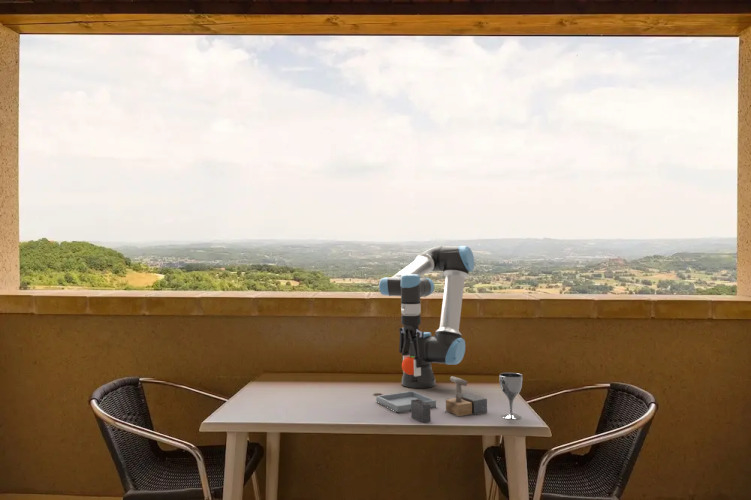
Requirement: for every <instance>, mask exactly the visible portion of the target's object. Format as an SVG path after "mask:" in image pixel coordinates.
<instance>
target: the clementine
mask: <svg viewBox="0 0 751 500" xmlns="http://www.w3.org/2000/svg"><path fill="white" fill-rule="evenodd" d="M413 358H415V357H413V356H410V357H407V358H405V359H404V360H403V359H402V362H401V369H402V372H403V371H404V372H405V373H406V374H408V375H413V374H414V359H413ZM404 372H403V373H404Z"/></svg>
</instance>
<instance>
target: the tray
mask: <svg viewBox="0 0 751 500" xmlns="http://www.w3.org/2000/svg"><path fill="white" fill-rule="evenodd" d="M375 397H376V399H375V402H376V401H377V402H379V403H381V404H382V405H381V404H380V405H381V406H383V405H384V406H386V407H388V408H390V409H392V410H394V411H396V412H402V413H406V412H405V411H408V412H411V400H416V399H419V400H421V401H424V402H426V403H428V404H430V409H432V408H436V407H437V400H436V399H434V398H431V397H429V396H427V395H424V394H421V393H419V392H417V391H414V390H411V391H402V392H395V393H389V394H382V395H376V396H375ZM377 402H376V403H377ZM379 403H378V404H379ZM384 406H383V407H384ZM386 407H385V408H386ZM388 408H387V409H388ZM390 409H389V410H390ZM392 410H391V411H392ZM394 411H393V412H394ZM396 412H395V413H396Z"/></svg>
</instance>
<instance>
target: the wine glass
mask: <svg viewBox="0 0 751 500" xmlns="http://www.w3.org/2000/svg"><path fill="white" fill-rule="evenodd" d="M498 377H499V386H500V389H501V392H502V393H503V394H504V395H505V396H506V397H507V399H508V401H509V413H504V414H501V415H500V417H501V418H502V419H504V420H510V421H518V420H520V419H522V416H521V415H519V414H517V413H513V404H514V399H515V398H516V397H517V396H518V395H519V394H520V392H521V389H522V387H523V374H521V373H517V372H501V373H500V374H499V376H498Z"/></svg>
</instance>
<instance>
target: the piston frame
mask: <svg viewBox="0 0 751 500" xmlns="http://www.w3.org/2000/svg"><path fill="white" fill-rule="evenodd" d="M461 399H463V400H466V401H468V402H471V403H472V414H471V415H479V414H484V413H485V414H486V413H488V398H486V397H484V396H480V395H477V394H476V393H471V392H470V393H465V394H461ZM410 413H411V416H410V417H411V418H412V417H413V419H414V418H415V419H414V420H416V419H417V421H419V422H421V423H423V424H425V423H429V422H431V421H432V420H431V408H430V404H428V403H426V402H424V401H421V400H419V399H416V400H411V411H410Z"/></svg>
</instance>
